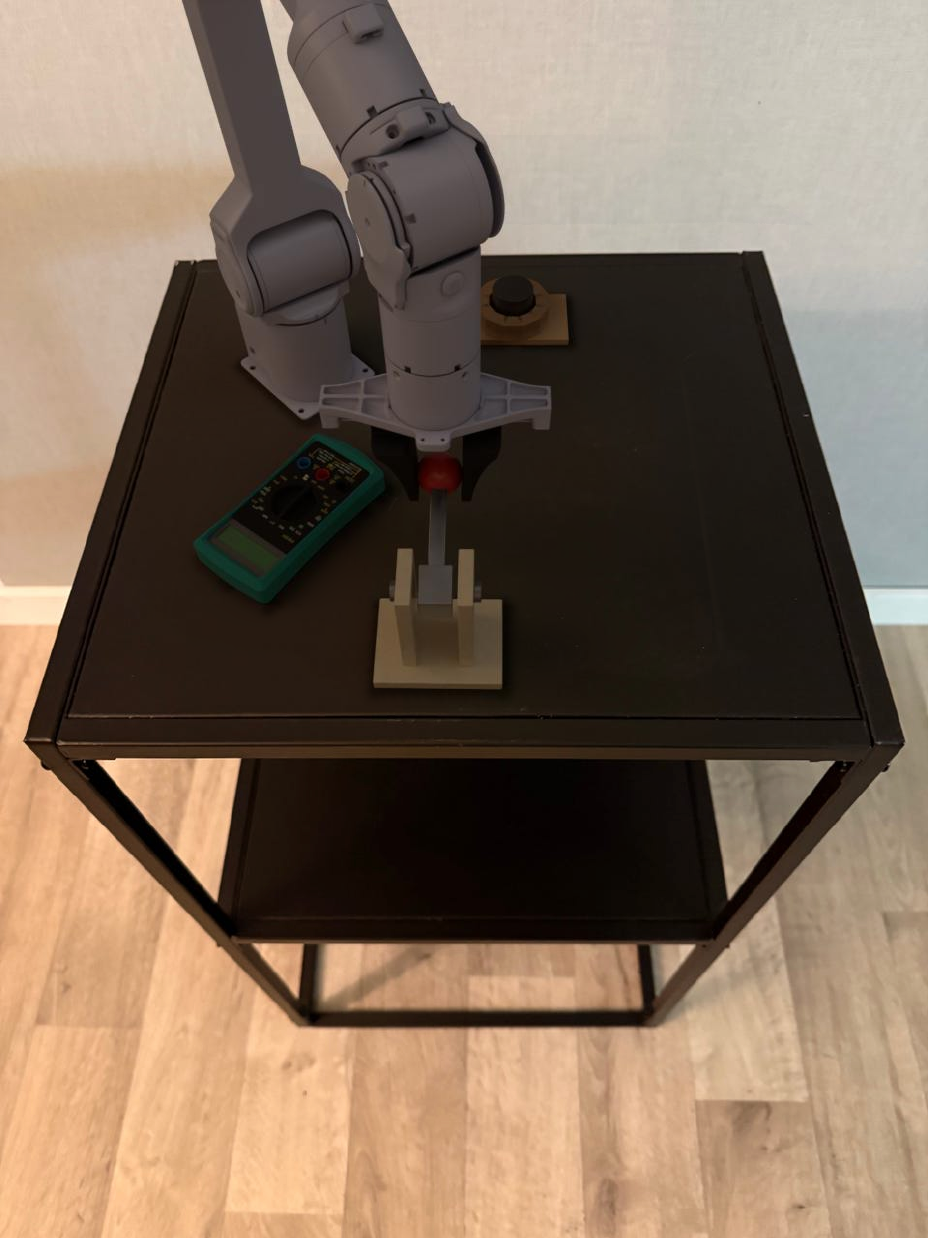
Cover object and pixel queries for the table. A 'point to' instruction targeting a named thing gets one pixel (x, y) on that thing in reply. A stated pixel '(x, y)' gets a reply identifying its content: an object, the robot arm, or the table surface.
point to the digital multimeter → (290, 517)
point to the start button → (512, 295)
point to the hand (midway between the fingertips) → (440, 490)
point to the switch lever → (437, 534)
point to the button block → (525, 320)
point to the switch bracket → (438, 635)
